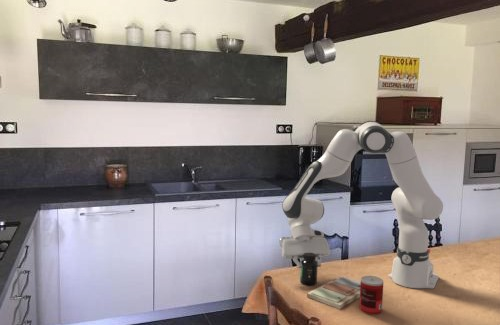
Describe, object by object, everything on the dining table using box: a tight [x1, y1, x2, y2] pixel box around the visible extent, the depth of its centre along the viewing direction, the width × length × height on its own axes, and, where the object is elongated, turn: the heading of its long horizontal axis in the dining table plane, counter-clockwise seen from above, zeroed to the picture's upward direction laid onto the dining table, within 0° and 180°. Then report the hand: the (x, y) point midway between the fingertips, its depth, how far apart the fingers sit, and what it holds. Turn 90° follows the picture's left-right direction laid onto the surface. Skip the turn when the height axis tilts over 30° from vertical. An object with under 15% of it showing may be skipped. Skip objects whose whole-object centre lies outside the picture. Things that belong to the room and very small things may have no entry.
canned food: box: [359, 275, 384, 315], centre depth 151 cm, size 8×8×11 cm
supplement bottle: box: [299, 253, 319, 287], centre depth 174 cm, size 7×7×12 cm
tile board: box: [306, 276, 361, 310], centre depth 165 cm, size 24×14×2 cm, turn 138°
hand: (309, 266), depth 174 cm, fingers closed on supplement bottle, 7 cm apart
